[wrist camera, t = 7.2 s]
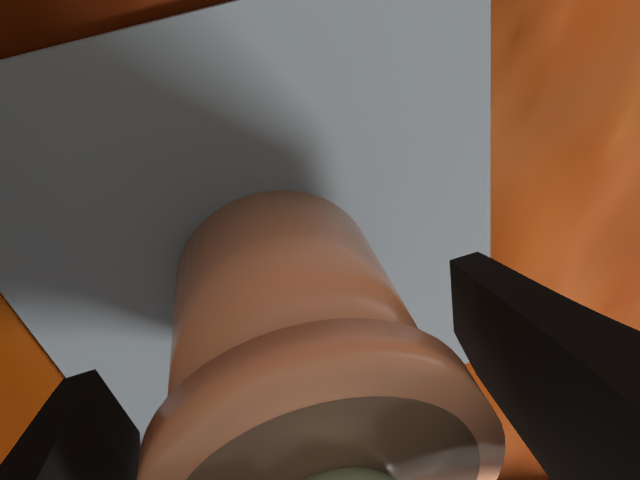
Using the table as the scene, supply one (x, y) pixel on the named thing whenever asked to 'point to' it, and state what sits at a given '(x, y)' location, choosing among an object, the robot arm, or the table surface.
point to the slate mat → (235, 161)
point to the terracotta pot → (307, 361)
